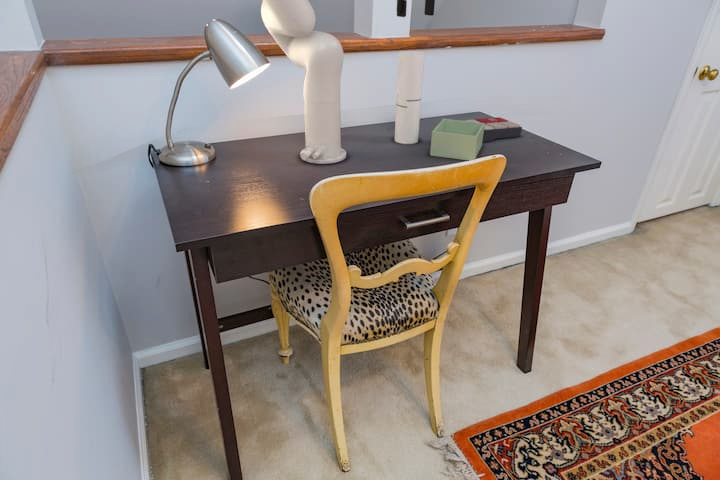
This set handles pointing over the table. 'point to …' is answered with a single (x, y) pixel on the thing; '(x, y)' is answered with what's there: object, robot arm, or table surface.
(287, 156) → the table surface
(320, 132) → the robot arm
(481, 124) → the tote
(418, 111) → the cylindrical container
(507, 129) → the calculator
